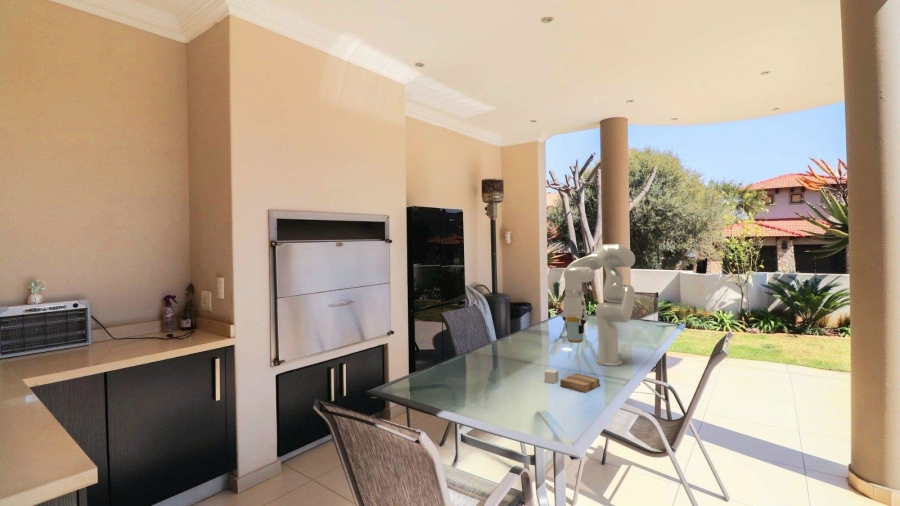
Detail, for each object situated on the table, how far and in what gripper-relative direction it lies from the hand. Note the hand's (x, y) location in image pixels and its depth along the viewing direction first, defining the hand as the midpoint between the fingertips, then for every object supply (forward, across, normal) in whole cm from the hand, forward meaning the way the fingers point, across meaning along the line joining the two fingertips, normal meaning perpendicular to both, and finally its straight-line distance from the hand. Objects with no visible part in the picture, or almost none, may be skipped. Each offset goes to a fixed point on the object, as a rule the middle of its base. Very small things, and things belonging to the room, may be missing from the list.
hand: (574, 332), depth 193 cm
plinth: (+22, -7, +8) cm, 24 cm away
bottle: (+5, 0, 0) cm, 5 cm away
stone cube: (+22, +6, +11) cm, 25 cm away
